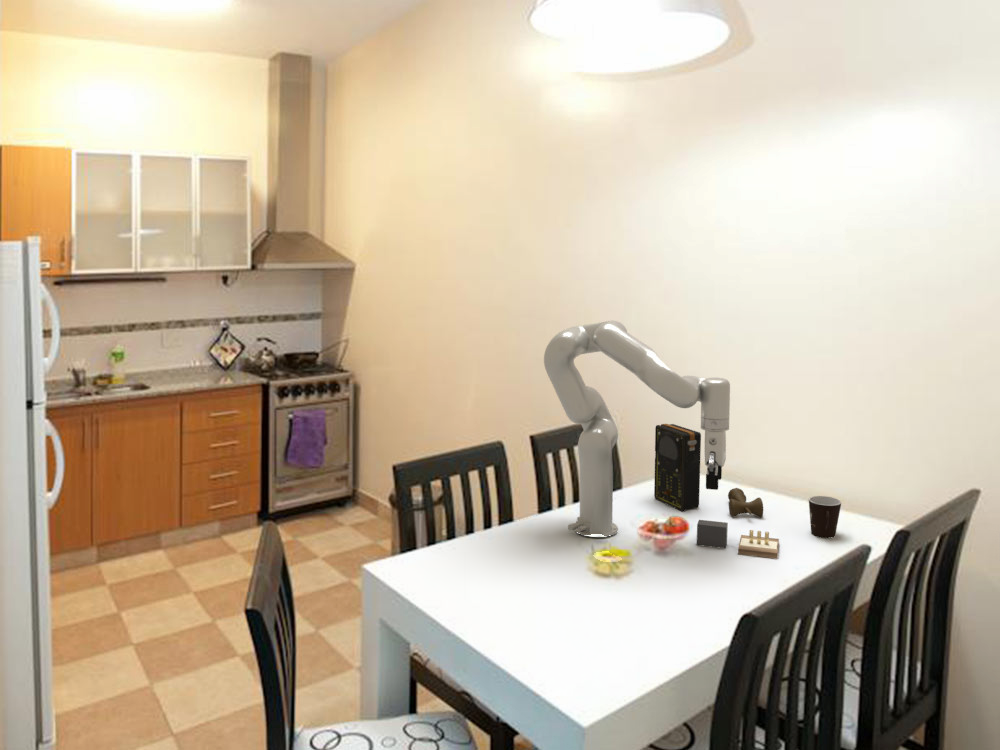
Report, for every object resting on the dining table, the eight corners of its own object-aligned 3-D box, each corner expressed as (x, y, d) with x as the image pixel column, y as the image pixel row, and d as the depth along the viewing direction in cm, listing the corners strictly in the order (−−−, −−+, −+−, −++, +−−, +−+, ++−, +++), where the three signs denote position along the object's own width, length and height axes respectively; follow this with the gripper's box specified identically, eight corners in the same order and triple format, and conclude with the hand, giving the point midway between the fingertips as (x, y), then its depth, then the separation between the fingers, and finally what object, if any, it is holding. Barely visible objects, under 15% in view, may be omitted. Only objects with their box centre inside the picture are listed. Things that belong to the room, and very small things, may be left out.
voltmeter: (650, 498, 261) (652, 424, 257) (672, 495, 264) (673, 421, 260) (680, 513, 247) (682, 434, 243) (702, 508, 250) (705, 431, 246)
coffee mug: (812, 526, 233) (814, 493, 231) (843, 533, 228) (845, 499, 226) (798, 538, 224) (800, 504, 223) (830, 545, 219) (832, 510, 217)
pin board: (777, 558, 210) (778, 540, 209) (737, 554, 213) (738, 536, 213) (778, 544, 220) (779, 526, 219) (740, 539, 224) (741, 522, 223)
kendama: (750, 503, 256) (767, 523, 236) (720, 504, 257) (734, 524, 237) (750, 485, 255) (767, 504, 236) (720, 486, 256) (734, 504, 236)
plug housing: (725, 548, 218) (726, 527, 217) (696, 545, 220) (697, 524, 219) (727, 543, 221) (727, 522, 220) (698, 540, 224) (698, 519, 223)
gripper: (726, 431, 207) (725, 494, 210) (731, 417, 223) (730, 476, 226) (697, 429, 210) (696, 492, 213) (704, 416, 226) (703, 474, 229)
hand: (713, 483), depth 219 cm, fingers open, 9 cm apart
